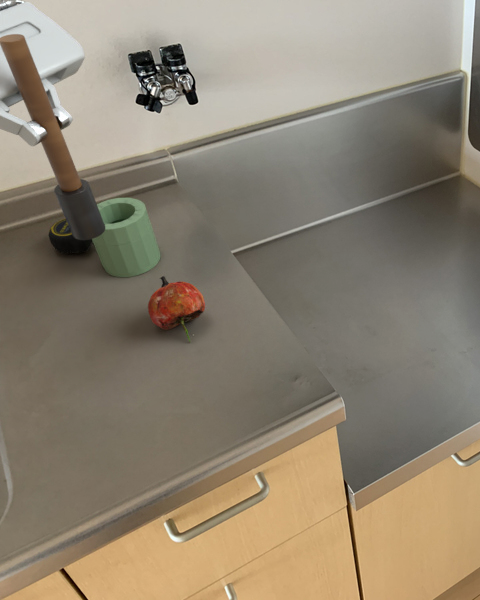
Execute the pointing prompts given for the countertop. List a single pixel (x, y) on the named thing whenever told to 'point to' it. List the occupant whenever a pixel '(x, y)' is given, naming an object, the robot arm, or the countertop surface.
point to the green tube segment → (126, 238)
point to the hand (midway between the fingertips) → (53, 133)
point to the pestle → (53, 143)
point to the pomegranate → (175, 304)
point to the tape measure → (66, 239)
